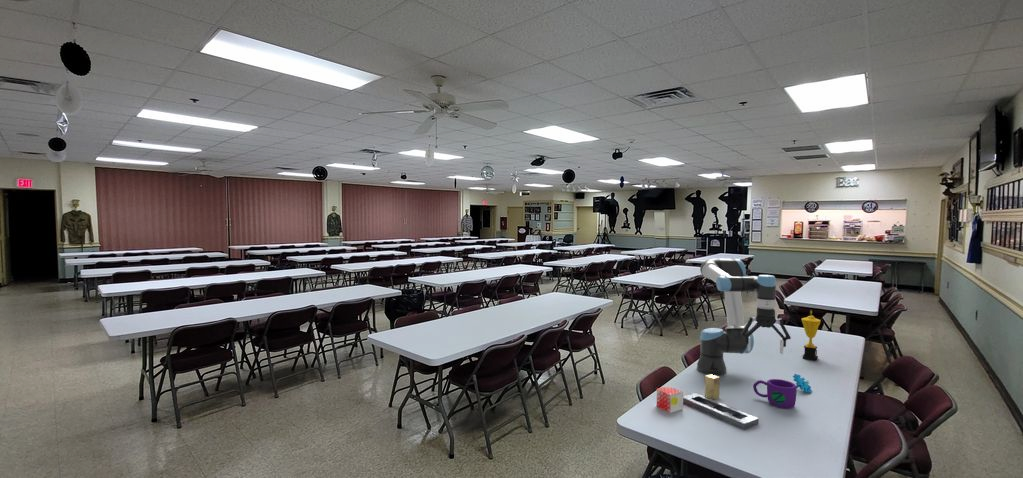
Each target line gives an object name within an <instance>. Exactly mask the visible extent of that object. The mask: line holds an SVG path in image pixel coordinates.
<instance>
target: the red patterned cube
mask: <svg viewBox="0 0 1023 478" xmlns="http://www.w3.org/2000/svg"><path fill="white" fill-rule="evenodd" d="M683 397H684V391H682V390H680V389H678V388H675V387H673V386H671V385H667V386H663V387H659V388H656V407H658V408H660V409H662V410H664V411H667V412H668V413H669V414H671V413H674V412H678V411H681V410H683V409H684V403H683Z"/></svg>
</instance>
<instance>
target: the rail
mask: <svg viewBox="0 0 1023 478" xmlns="http://www.w3.org/2000/svg"><path fill="white" fill-rule="evenodd" d="M683 405H687V406H689V407H691V408H693V409H696V410H698V411H700V412H703V413H705V414H708V415H710V416H712V417H714V418H716V419H718V420H720V421H723V422H725V423H728V424H730V425H733V426H735V427H737V428H739V429H742V430H743V431H745V430H747V429H750V428H752V427H756V426H757V425H759V424H760V421H759V420H760V419H759V417H756V416H755V415H751V414H749V413H747V412H744V411H742V410H739V409H737V408H734V407H732V406H729V405H727V404H725V403H721V402H719V401H717V400H715V399H714V400H713V399H710V398H708V397H705V395H701V394H700V393H696V392H694V393H691V394H687V395H683Z"/></svg>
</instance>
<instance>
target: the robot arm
mask: <svg viewBox="0 0 1023 478" xmlns="http://www.w3.org/2000/svg"><path fill="white" fill-rule="evenodd" d="M699 271H700V274H701V275H702V276H703V277H704V278H705V279H708V280H711V281H713V282H714V283H716V288H717V290H718V292H719V291H720V292H723V293H724V301H725V311H726V312H725V313H726V320H727V321H726V322H727V323H726V324H727V326H726V327H725V328H724V329H722V328H718V327H710V328H709V327H708V328H705V329H702V330H701V332H700V337H699V339H700V355H699V358H698V362H697V364H696V370H697V371H699V372H701V371H702V372H701V373H703V372H704V374H707V373H708V374H707V375H710V374H712V375H713V374H714V375H715V376H718V375H720V376H721V375H726V374H727V366H726V363H725V360H724V354H741V355H742V354H750V353H752V351H753V349H754V345H755V339H754V332H756V331H757V330H758V329H759V328H760V327H761V328H766V329H767V328H768V329H770V328H772V329H773V330H774V331H775V332H776V333H777V334H778V335H779V337H781V338H780V339H779V340H780V341H779V353H780V354H781V355H784V348H786V347H787V340H791V339H792V336H791V335H790V333H789V332H788V330H787V328H786V326H785V324H784V319H782V318H776V309H775V308H776V291H777V290H776V286H777V281H776V277H775V275H771V274H758V276H757V275H750V276H746V275H747V269H746V266H745V263H744V262H743V260H741V259H739V258H709V259H707V260H705V261H704V262H702V263H701V265H700V269H699ZM742 292H743V293H745V292H746V293H756V306H757V307H756V317H755V316H753V317H752V316H751V315H750V316H749V317H748V321H747V323H746V324H745V316H744V305H743V300H742V299H743V298H742ZM753 322H756V323H755V324H754V325H753V326H752V328H750V327H751V325H752V323H753ZM776 323H778V324H779V325H780V328H781V330H782V331H783V333H782V332H781V331H780V330H779V329H778V328H777V327H776V325H775V324H776Z"/></svg>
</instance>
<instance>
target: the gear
mask: <svg viewBox="0 0 1023 478" xmlns="http://www.w3.org/2000/svg"><path fill="white" fill-rule="evenodd" d="M792 378H793V381H794V382H795V385H796V386H797V389H798V388H799V389H800V390H801V391H802V390H803V392H804V393H807V394H811V392H813V390H812V386H811V385H810V384H809V383H810V381H809V380H806V378H804V377H802V376H801V375H800V374H798V373H795V374H793V375H792ZM805 380H806V381H805Z"/></svg>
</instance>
